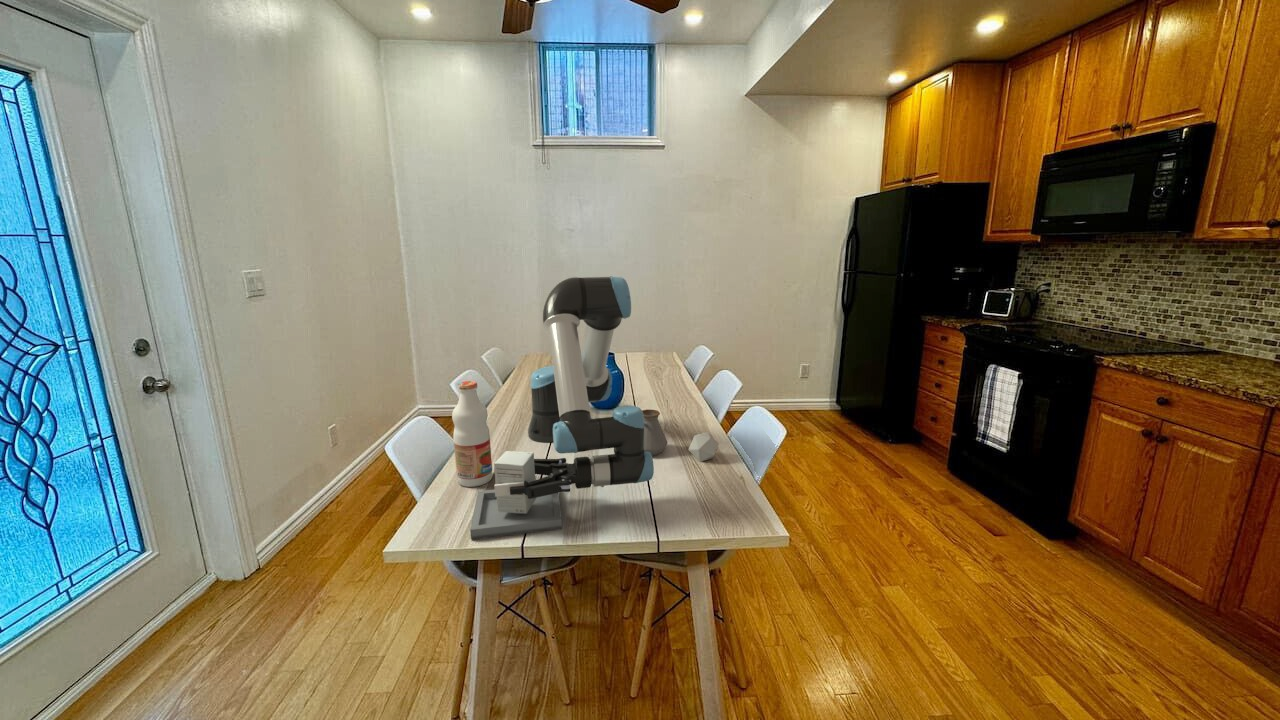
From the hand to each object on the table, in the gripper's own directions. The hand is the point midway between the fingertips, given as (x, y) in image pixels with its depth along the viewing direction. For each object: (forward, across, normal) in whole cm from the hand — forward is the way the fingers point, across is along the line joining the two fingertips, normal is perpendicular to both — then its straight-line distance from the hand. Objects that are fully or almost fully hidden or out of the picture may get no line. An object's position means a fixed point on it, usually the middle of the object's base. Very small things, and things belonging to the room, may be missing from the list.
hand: (496, 480), depth 118 cm
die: (-60, +21, -10) cm, 64 cm away
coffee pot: (-42, +26, -10) cm, 50 cm away
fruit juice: (+7, +21, -10) cm, 24 cm away
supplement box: (-5, 0, -7) cm, 9 cm away
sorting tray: (-5, 0, -9) cm, 10 cm away
